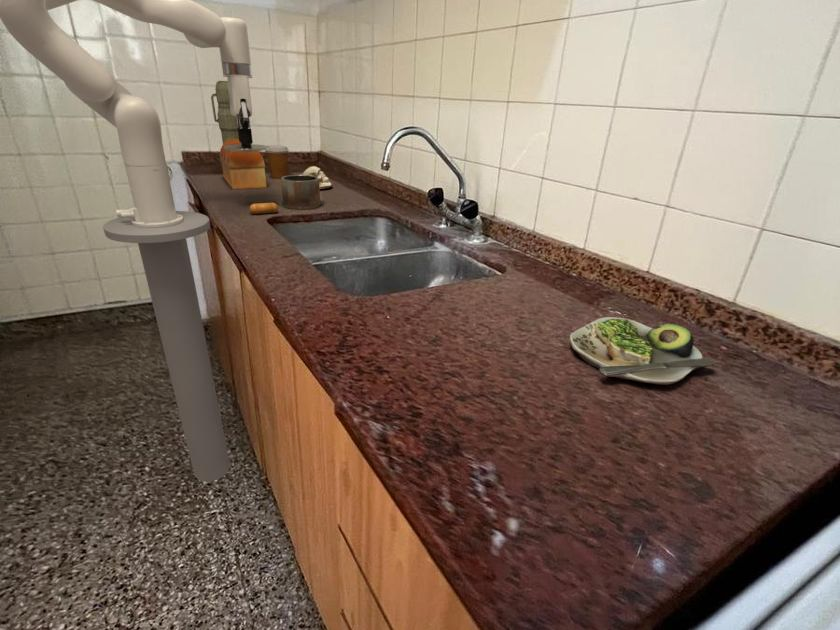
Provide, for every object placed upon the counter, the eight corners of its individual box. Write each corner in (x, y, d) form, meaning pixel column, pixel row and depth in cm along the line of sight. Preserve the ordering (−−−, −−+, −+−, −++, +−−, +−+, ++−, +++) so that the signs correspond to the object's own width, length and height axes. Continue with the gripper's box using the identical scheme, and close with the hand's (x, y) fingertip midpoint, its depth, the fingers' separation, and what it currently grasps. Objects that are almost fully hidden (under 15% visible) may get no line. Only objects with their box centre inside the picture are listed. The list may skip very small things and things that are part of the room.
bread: (222, 177, 182) (217, 138, 175) (254, 176, 187) (250, 138, 181) (232, 189, 162) (226, 145, 156) (267, 187, 168) (263, 145, 161)
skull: (337, 182, 177) (332, 164, 167) (331, 204, 173) (326, 187, 164) (307, 179, 178) (300, 161, 168) (301, 201, 174) (294, 184, 164)
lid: (226, 153, 125) (222, 125, 122) (222, 148, 135) (218, 122, 131) (272, 152, 130) (270, 126, 127) (265, 147, 140) (262, 123, 137)
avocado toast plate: (658, 415, 55) (669, 384, 53) (540, 352, 67) (546, 325, 65) (721, 366, 66) (732, 338, 64) (610, 320, 78) (616, 296, 76)
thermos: (251, 174, 191) (240, 81, 176) (221, 174, 188) (207, 80, 172) (251, 170, 199) (240, 81, 183) (222, 171, 195) (209, 80, 179)
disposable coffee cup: (286, 179, 184) (283, 148, 179) (263, 178, 184) (260, 147, 179) (293, 175, 192) (291, 146, 187) (272, 174, 193) (269, 144, 187)
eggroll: (251, 215, 131) (249, 205, 129) (249, 213, 133) (248, 203, 132) (279, 213, 134) (278, 203, 133) (277, 211, 136) (276, 201, 135)
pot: (288, 210, 138) (285, 182, 134) (280, 202, 147) (278, 175, 143) (324, 208, 143) (323, 180, 139) (315, 200, 152) (313, 174, 148)
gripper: (219, 71, 128) (229, 140, 136) (225, 70, 115) (235, 146, 123) (247, 72, 131) (255, 140, 139) (256, 71, 118) (264, 146, 126)
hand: (245, 142), depth 131 cm, fingers closed on lid, 2 cm apart
